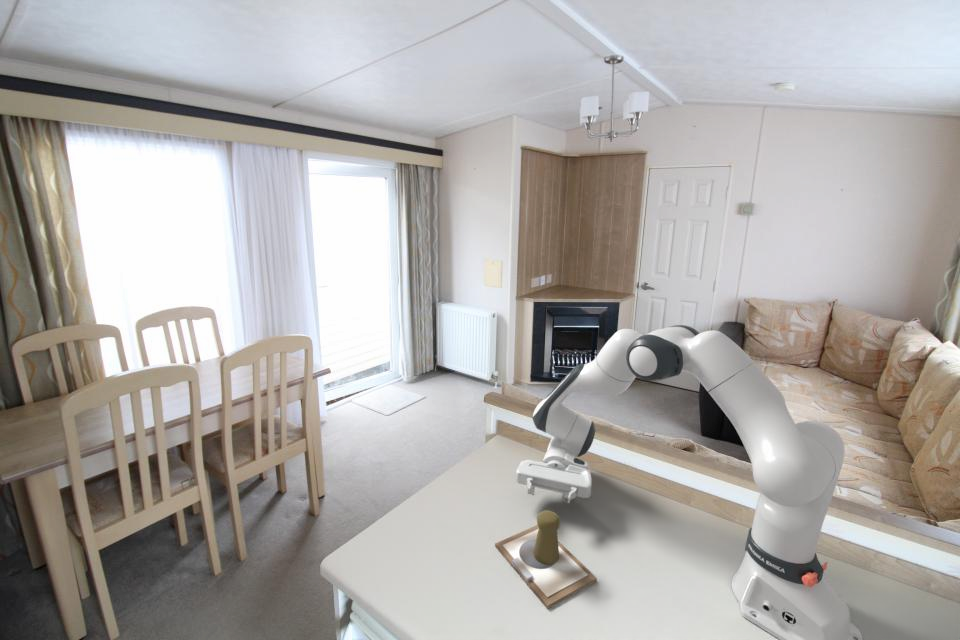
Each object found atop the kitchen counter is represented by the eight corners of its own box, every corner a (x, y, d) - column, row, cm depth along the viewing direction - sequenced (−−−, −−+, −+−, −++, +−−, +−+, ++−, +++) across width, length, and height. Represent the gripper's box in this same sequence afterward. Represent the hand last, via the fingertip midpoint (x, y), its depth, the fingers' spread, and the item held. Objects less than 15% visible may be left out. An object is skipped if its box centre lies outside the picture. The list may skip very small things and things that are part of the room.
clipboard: (596, 580, 100) (596, 575, 100) (547, 608, 93) (547, 602, 93) (540, 526, 117) (540, 520, 116) (495, 546, 110) (495, 540, 109)
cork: (559, 566, 102) (562, 526, 100) (532, 562, 103) (535, 522, 100) (558, 546, 108) (561, 508, 105) (533, 543, 109) (536, 505, 106)
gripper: (522, 449, 130) (509, 476, 117) (594, 464, 123) (589, 494, 111) (521, 469, 131) (508, 497, 119) (592, 484, 125) (587, 516, 113)
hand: (548, 496), depth 115 cm, fingers open, 8 cm apart
